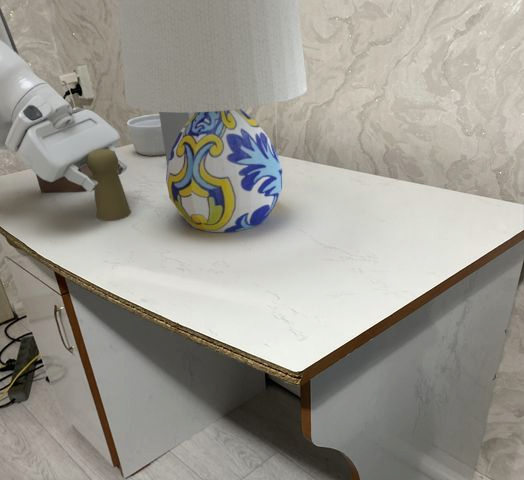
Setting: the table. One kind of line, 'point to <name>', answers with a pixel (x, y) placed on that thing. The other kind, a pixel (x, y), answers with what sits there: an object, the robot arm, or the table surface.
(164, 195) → the table surface
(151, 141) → the ramekin
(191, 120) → the table lamp
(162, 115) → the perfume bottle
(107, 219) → the cork
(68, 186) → the wooden box
